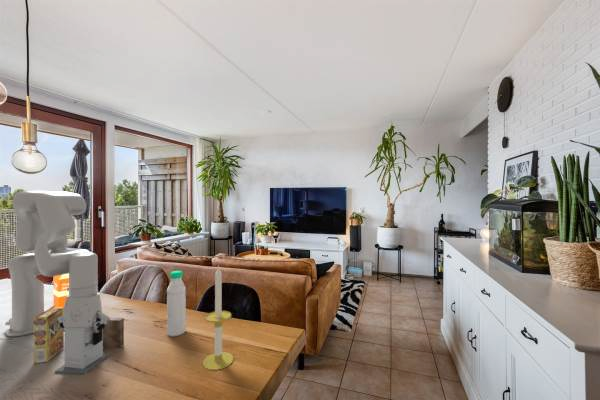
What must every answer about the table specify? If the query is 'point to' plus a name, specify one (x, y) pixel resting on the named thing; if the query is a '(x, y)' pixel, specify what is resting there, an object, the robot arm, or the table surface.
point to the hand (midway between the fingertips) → (83, 342)
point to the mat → (81, 371)
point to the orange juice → (60, 289)
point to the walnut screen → (114, 333)
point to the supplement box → (81, 347)
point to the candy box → (48, 335)
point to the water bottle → (176, 305)
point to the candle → (218, 329)
